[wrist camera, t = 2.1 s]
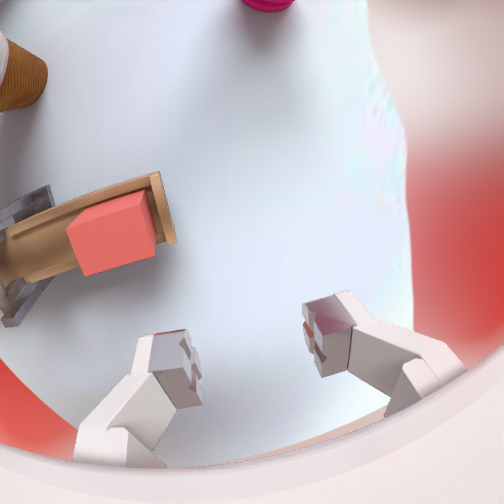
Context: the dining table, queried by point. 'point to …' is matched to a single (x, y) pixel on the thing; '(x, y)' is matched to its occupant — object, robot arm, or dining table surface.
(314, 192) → the dining table surface
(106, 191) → the beam
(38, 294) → the stand
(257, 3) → the pepper mill
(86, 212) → the rider
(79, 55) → the dining table surface
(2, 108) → the disposable coffee cup
